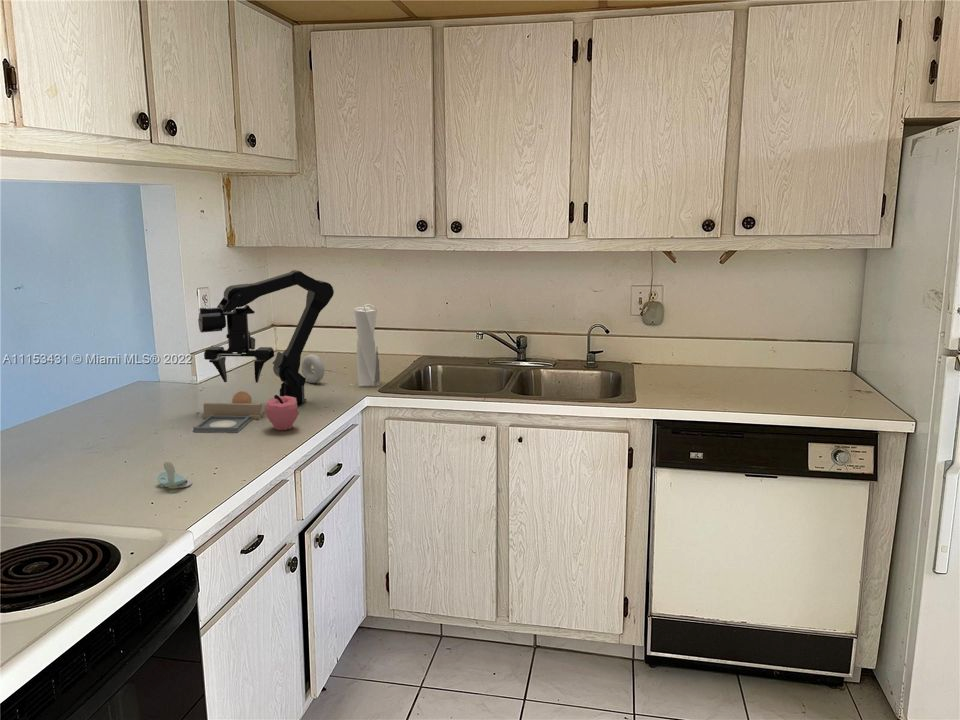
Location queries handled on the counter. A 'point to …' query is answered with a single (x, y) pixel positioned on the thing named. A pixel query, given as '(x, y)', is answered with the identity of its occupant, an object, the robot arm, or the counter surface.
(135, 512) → the counter surface
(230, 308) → the robot arm
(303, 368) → the donut
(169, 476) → the pacifier
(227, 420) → the mat
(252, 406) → the tan rectangular bar
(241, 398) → the ball
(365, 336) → the skyscraper
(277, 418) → the apple
